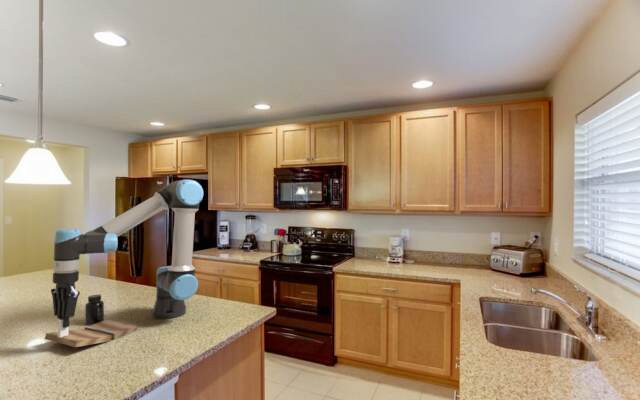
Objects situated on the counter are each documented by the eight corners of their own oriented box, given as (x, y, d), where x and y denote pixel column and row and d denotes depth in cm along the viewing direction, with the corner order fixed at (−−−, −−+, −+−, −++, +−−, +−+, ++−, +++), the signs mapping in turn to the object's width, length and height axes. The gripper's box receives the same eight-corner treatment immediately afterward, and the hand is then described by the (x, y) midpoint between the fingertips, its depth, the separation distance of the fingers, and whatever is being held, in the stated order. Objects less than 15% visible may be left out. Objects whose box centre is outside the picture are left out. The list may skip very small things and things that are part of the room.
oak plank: (81, 333, 133) (82, 328, 133) (110, 340, 126) (111, 335, 127) (44, 338, 121) (46, 333, 121) (75, 347, 114) (76, 341, 115)
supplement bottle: (102, 318, 150) (102, 292, 150) (105, 322, 145) (105, 296, 145) (83, 322, 145) (84, 295, 145) (86, 326, 140) (87, 299, 140)
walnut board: (107, 324, 143) (107, 318, 143) (136, 330, 137) (136, 324, 137) (84, 332, 134) (84, 326, 134) (114, 339, 128) (114, 333, 128)
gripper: (43, 271, 118) (40, 336, 118) (66, 274, 114) (63, 342, 113) (66, 268, 125) (63, 329, 125) (88, 271, 121) (85, 335, 120)
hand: (63, 335), depth 119 cm, fingers closed
